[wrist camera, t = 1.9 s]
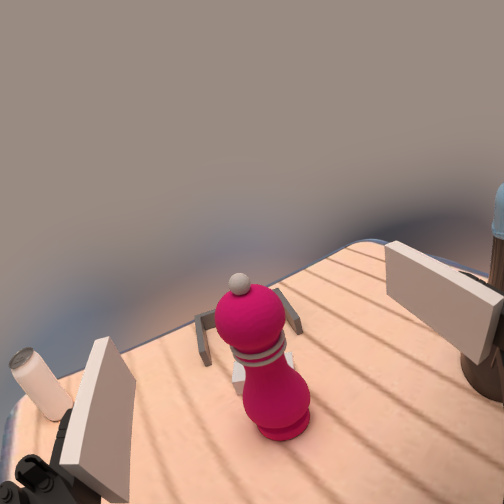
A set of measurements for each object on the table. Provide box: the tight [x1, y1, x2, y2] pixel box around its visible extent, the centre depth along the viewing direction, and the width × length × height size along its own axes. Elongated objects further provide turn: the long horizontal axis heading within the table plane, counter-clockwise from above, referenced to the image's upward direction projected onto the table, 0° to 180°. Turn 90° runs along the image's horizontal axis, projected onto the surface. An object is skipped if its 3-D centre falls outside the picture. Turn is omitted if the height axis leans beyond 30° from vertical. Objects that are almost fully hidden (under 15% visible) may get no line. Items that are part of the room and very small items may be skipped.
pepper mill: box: [215, 273, 310, 441], centre depth 27 cm, size 7×7×20 cm
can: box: [9, 347, 73, 421], centre depth 35 cm, size 6×6×12 cm
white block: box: [232, 352, 296, 395], centre depth 37 cm, size 8×4×3 cm, turn 88°
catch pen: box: [195, 288, 303, 366], centre depth 49 cm, size 16×11×3 cm
